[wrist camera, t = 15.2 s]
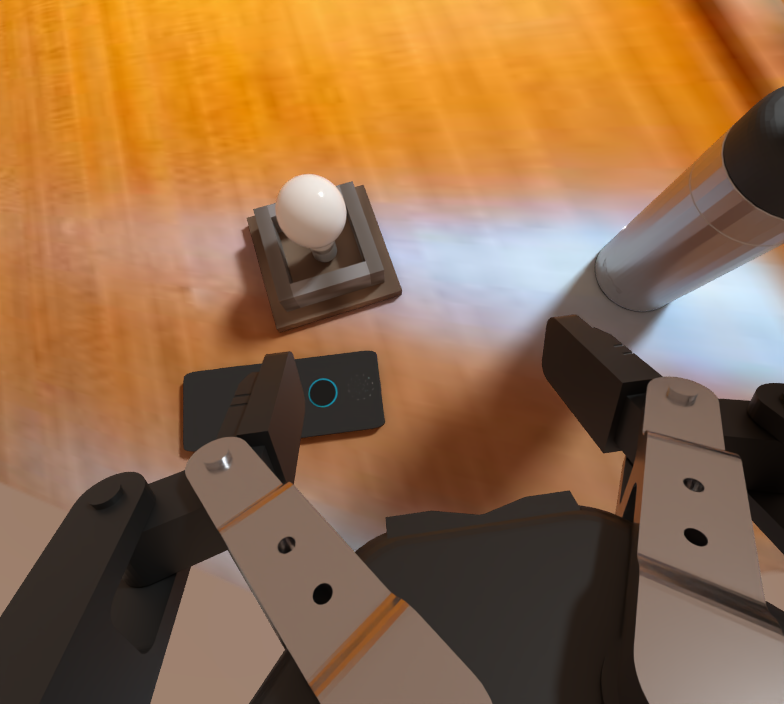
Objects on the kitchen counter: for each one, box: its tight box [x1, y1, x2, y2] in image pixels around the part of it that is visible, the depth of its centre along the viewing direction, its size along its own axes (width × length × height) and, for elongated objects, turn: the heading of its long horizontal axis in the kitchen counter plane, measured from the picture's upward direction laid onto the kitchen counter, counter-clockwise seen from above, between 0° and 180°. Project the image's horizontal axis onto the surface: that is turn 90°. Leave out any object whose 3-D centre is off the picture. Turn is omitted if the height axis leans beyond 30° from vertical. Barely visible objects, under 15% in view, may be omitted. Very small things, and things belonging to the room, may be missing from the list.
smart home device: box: [183, 351, 385, 451], centre depth 39 cm, size 8×2×20 cm
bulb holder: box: [247, 181, 402, 332], centre depth 42 cm, size 14×14×4 cm
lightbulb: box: [275, 174, 347, 262], centre depth 37 cm, size 6×6×11 cm
